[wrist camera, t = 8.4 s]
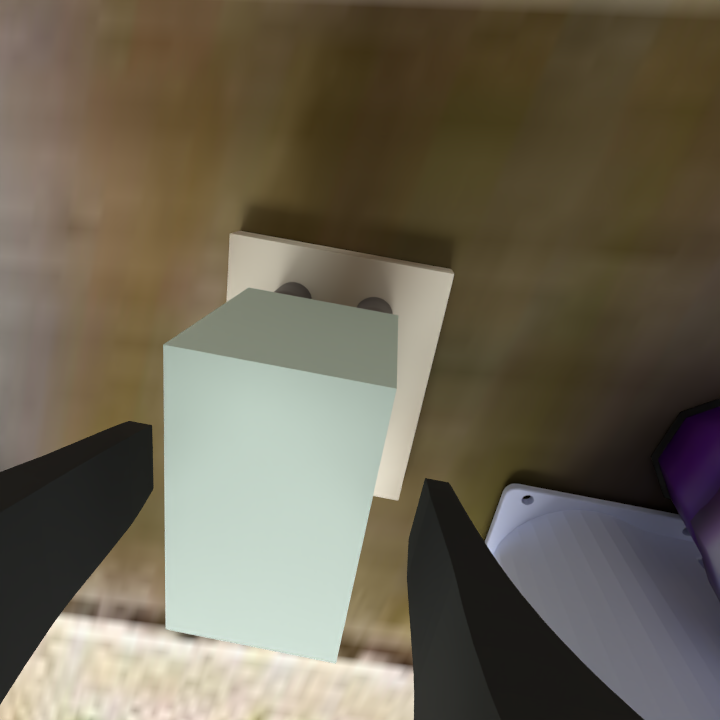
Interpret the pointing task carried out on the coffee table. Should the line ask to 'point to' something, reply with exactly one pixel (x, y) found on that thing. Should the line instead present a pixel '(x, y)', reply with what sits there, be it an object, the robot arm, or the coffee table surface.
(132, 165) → the coffee table surface
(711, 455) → the potion bottle
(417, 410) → the peg stand
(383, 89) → the coffee table surface
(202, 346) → the shelf block
